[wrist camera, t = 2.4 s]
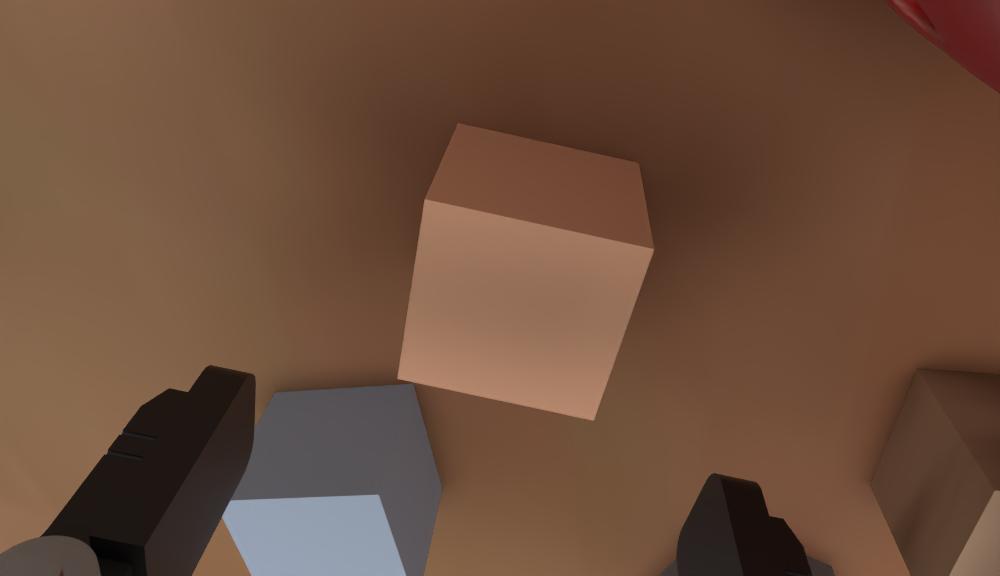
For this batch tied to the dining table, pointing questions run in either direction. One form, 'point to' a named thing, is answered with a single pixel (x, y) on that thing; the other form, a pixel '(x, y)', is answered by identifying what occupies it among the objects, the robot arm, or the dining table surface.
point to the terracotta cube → (525, 271)
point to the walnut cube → (944, 475)
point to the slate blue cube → (338, 485)
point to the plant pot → (959, 31)
